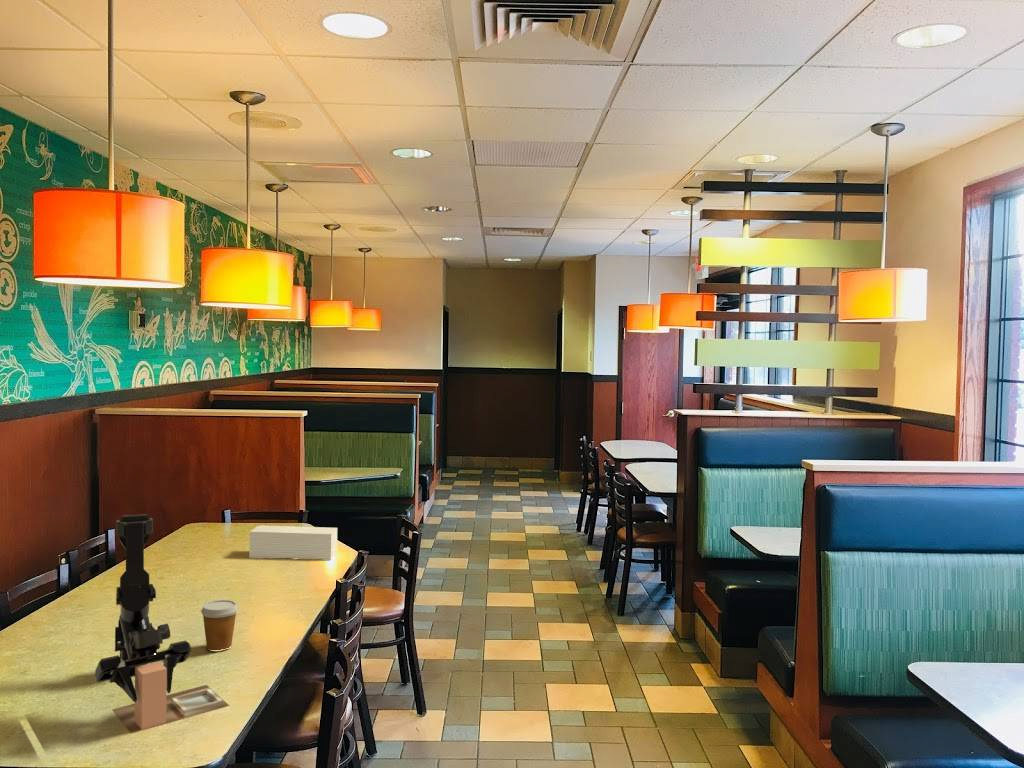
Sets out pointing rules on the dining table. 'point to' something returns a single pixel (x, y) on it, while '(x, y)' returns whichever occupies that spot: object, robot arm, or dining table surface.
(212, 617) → the disposable coffee cup
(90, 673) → the dining table surface
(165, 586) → the dining table surface
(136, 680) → the pillar
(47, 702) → the dining table surface
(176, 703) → the baseboard
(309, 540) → the stack of papers
